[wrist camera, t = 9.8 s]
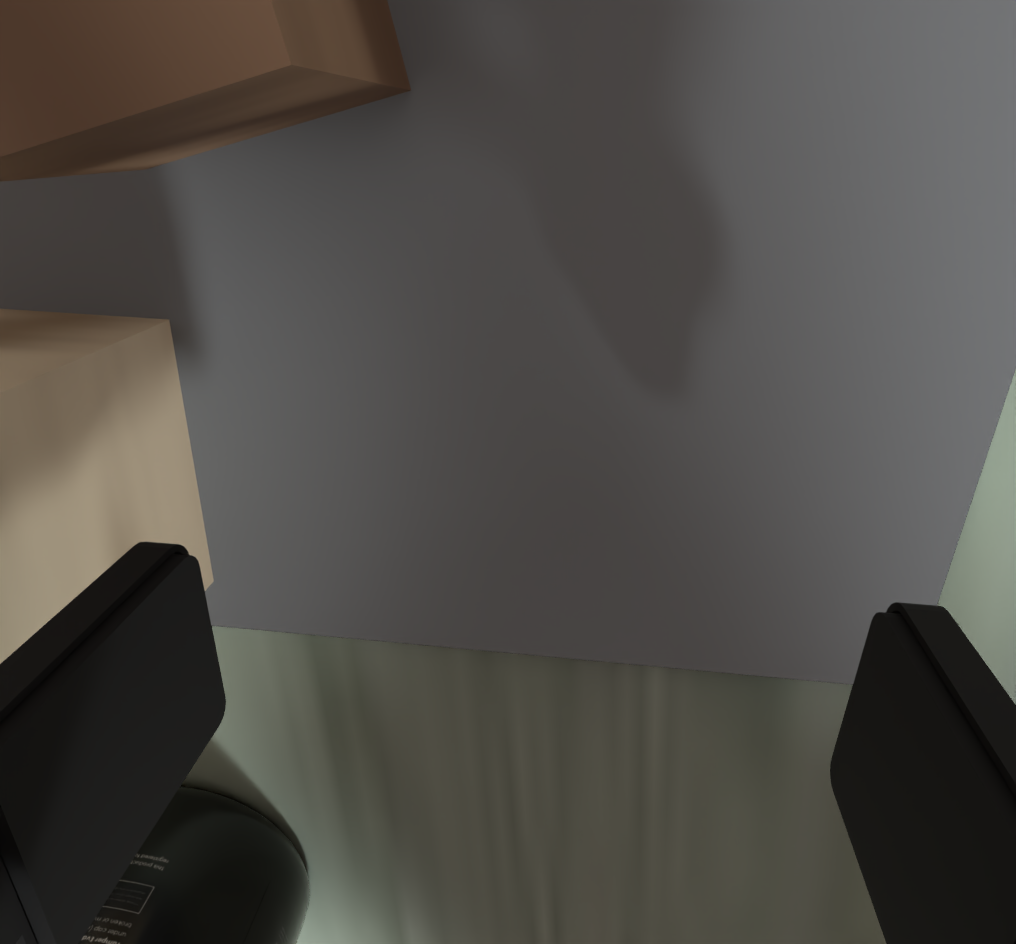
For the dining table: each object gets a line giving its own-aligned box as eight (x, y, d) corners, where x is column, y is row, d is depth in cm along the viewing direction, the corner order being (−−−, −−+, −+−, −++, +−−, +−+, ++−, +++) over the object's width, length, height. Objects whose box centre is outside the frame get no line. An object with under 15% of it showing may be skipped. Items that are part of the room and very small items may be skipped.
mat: (1234, -335, 9) (1255, -350, 9) (903, 680, 16) (909, 689, 15) (-451, -269, 11) (-477, -278, 11) (-98, 588, 18) (-109, 596, 18)
